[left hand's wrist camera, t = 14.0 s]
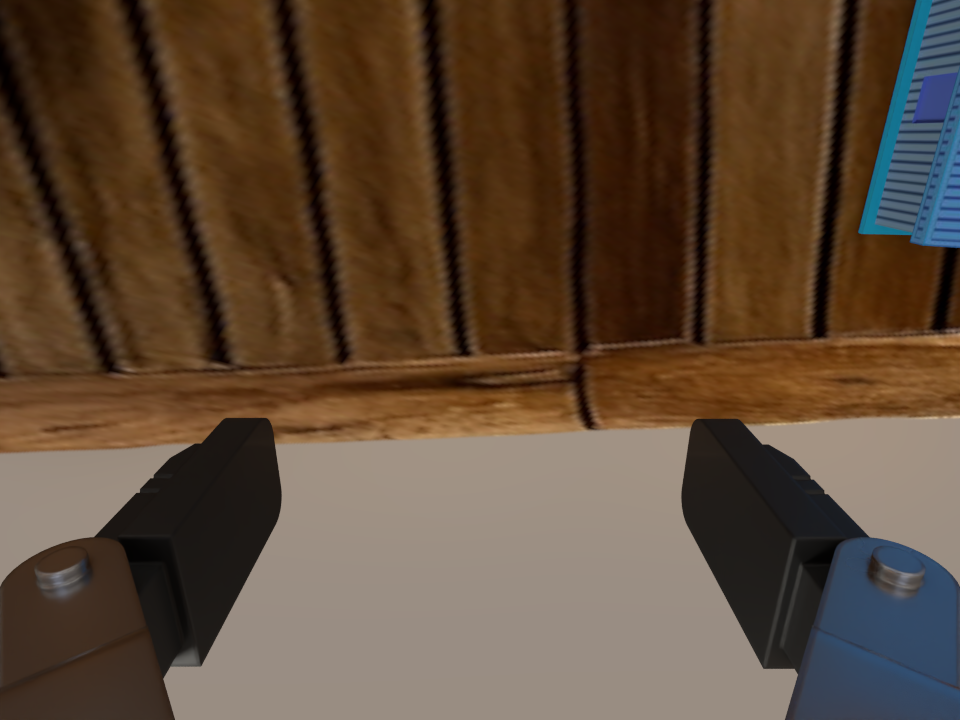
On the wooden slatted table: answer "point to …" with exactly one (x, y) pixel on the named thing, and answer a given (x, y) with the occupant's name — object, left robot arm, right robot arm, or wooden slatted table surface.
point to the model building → (922, 136)
